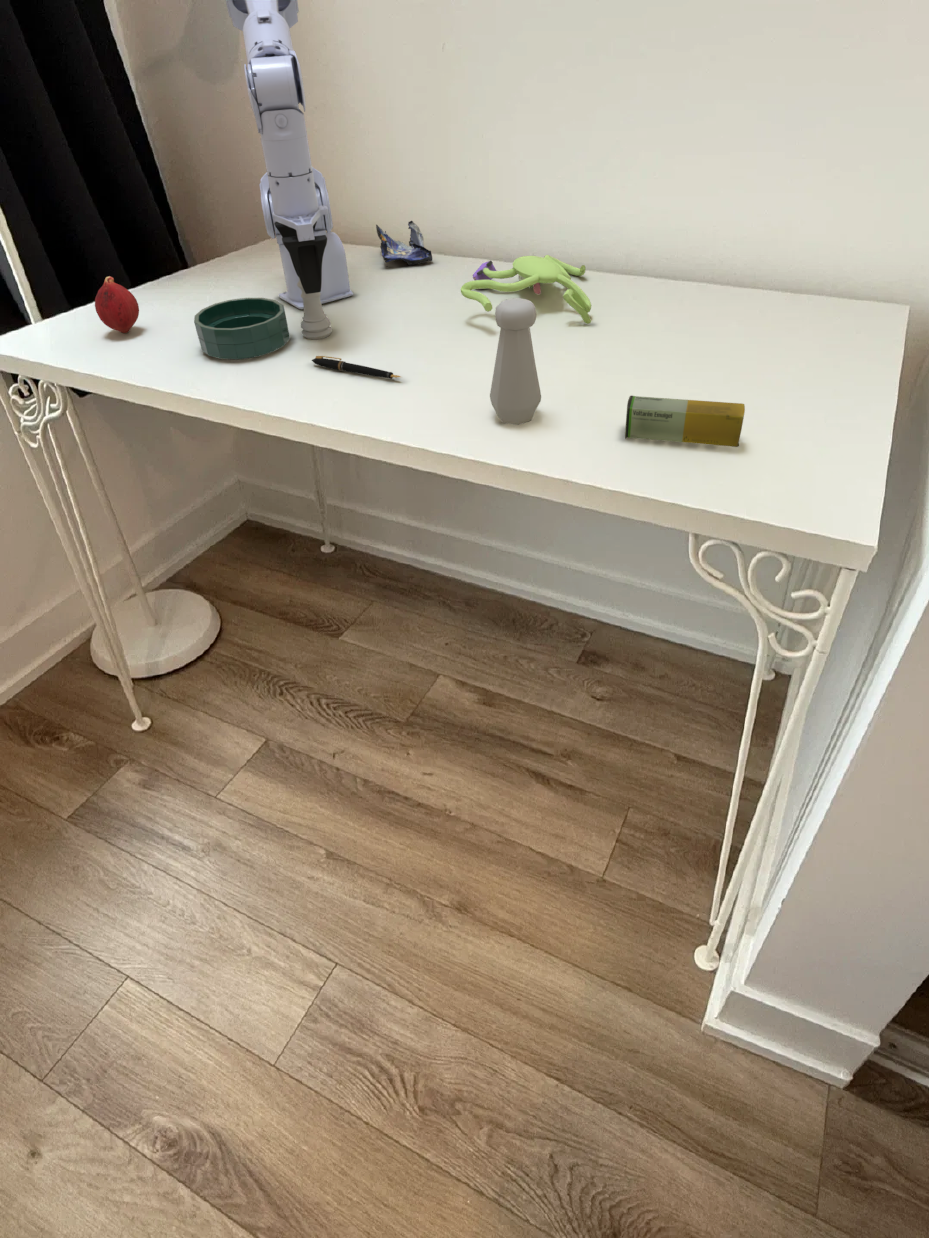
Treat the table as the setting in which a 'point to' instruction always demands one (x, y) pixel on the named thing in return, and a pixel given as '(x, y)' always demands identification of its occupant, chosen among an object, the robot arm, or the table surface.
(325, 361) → the fountain pen
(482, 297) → the figurine
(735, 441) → the medication box
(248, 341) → the green faceted bowl
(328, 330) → the rook chess piece
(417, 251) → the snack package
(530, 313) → the salt shaker
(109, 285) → the onion
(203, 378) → the table surface
